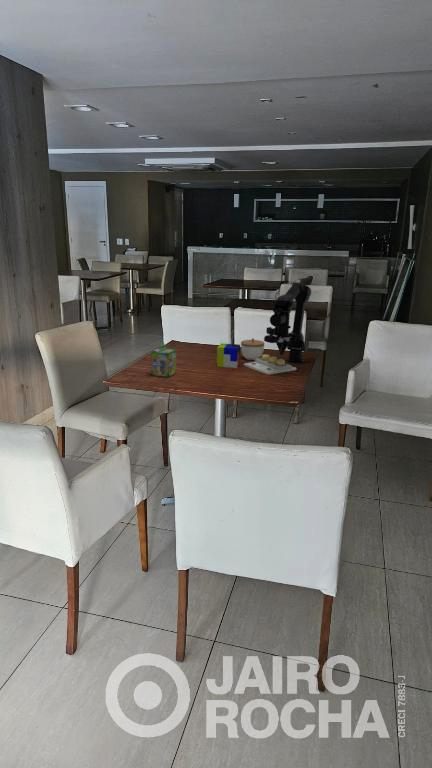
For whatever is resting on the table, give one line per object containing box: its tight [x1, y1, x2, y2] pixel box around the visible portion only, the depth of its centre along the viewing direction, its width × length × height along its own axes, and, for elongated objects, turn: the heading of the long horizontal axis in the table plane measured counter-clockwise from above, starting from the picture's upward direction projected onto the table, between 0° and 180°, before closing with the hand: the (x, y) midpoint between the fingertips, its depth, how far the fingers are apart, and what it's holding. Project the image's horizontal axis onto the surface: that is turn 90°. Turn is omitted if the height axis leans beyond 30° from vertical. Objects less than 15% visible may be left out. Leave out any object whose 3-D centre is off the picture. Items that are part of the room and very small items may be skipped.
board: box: [243, 357, 297, 376], centre depth 250 cm, size 18×20×3 cm
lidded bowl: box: [240, 338, 265, 361], centre depth 267 cm, size 13×13×11 cm
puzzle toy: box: [216, 343, 241, 369], centre depth 253 cm, size 10×10×10 cm
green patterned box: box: [150, 342, 177, 378], centre depth 233 cm, size 9×9×15 cm
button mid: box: [269, 356, 278, 364], centre depth 251 cm, size 4×4×3 cm
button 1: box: [261, 353, 270, 361], centre depth 255 cm, size 4×4×3 cm
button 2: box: [277, 358, 286, 366], centre depth 246 cm, size 4×4×3 cm
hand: (281, 354), depth 245 cm, fingers closed
